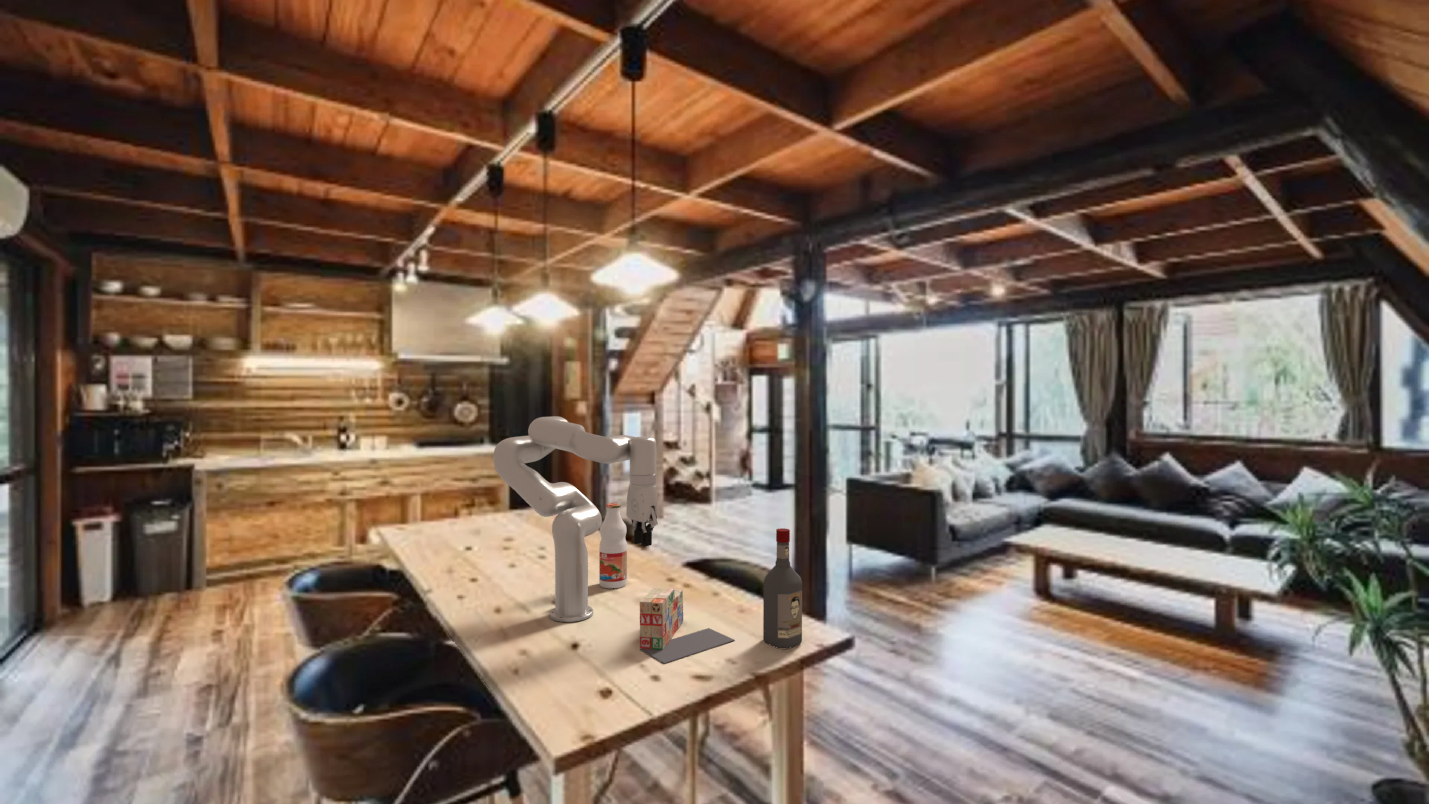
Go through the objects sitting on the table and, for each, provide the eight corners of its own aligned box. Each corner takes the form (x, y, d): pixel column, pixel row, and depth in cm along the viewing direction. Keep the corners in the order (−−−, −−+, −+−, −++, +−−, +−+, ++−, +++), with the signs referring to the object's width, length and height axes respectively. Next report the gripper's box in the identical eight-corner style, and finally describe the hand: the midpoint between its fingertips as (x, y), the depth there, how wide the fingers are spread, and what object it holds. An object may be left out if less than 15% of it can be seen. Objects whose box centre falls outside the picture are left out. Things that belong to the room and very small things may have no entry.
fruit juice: (632, 584, 221) (632, 503, 220) (612, 591, 213) (612, 507, 213) (614, 579, 227) (614, 500, 226) (593, 585, 219) (593, 504, 219)
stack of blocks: (662, 620, 186) (662, 578, 186) (683, 621, 185) (683, 579, 185) (639, 648, 165) (639, 600, 165) (663, 650, 164) (662, 602, 164)
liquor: (758, 640, 171) (758, 529, 171) (782, 632, 177) (782, 524, 177) (782, 651, 164) (783, 535, 164) (806, 642, 170) (807, 530, 170)
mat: (639, 650, 165) (639, 648, 165) (708, 629, 179) (708, 628, 179) (664, 664, 156) (664, 662, 156) (734, 640, 171) (734, 639, 171)
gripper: (616, 478, 186) (616, 541, 186) (648, 484, 173) (648, 552, 174) (638, 476, 191) (638, 537, 191) (670, 482, 178) (670, 548, 178)
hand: (642, 543), depth 182 cm, fingers open, 3 cm apart
